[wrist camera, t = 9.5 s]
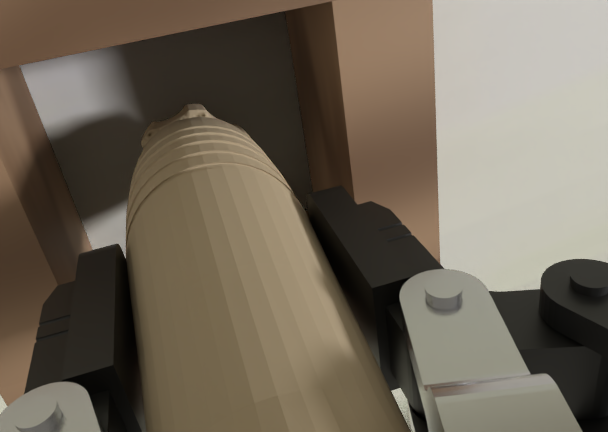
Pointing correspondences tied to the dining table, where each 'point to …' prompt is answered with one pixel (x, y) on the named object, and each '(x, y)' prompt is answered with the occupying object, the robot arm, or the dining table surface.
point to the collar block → (313, 106)
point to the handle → (239, 295)
